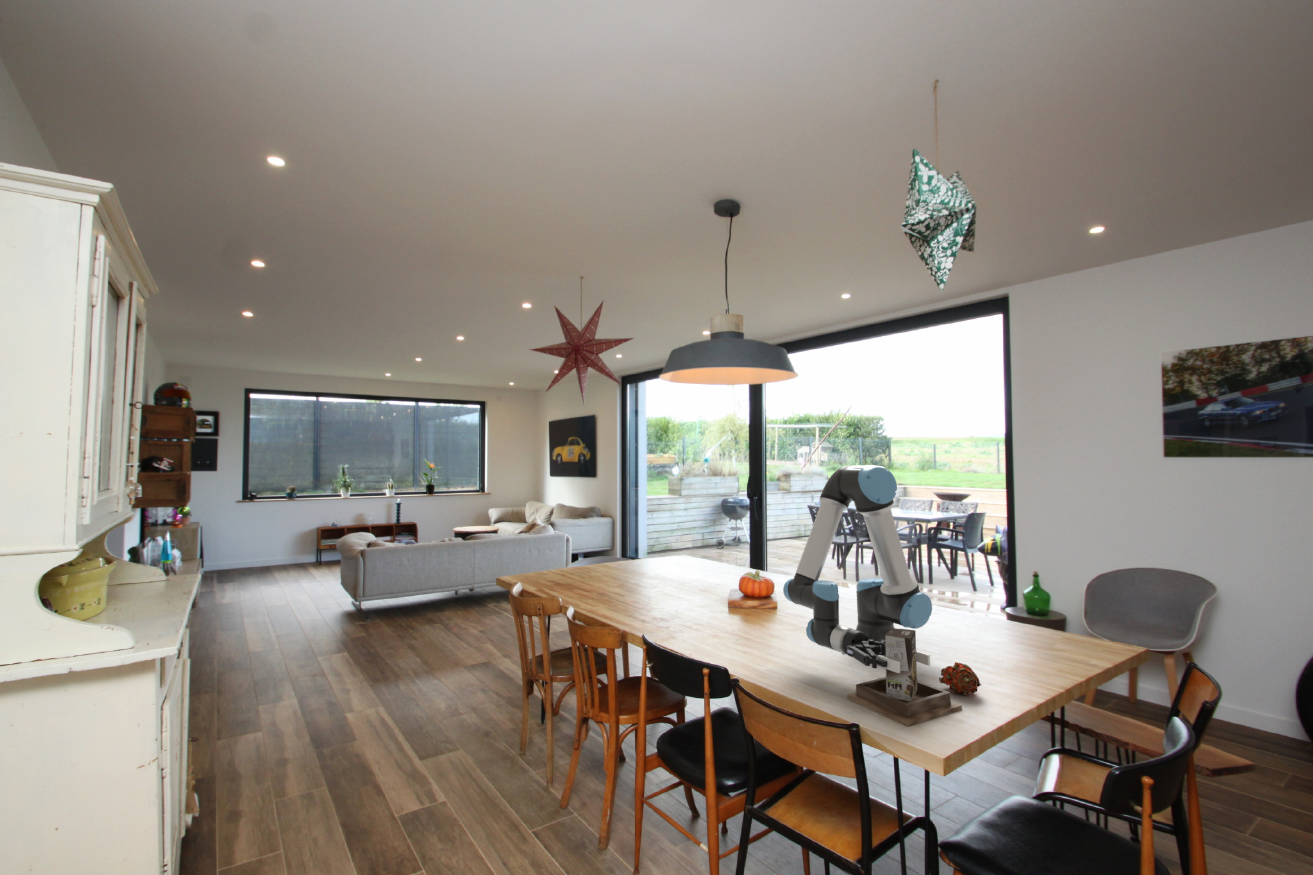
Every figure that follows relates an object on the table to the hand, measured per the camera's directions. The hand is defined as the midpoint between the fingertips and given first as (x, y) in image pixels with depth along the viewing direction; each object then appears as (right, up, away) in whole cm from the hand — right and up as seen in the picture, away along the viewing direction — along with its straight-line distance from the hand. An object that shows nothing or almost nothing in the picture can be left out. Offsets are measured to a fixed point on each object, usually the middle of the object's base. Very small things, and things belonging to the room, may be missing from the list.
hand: (914, 663), depth 157 cm
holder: (-2, -12, +3) cm, 12 cm away
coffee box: (-2, -9, +3) cm, 10 cm away
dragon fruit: (+17, -12, +11) cm, 23 cm away
